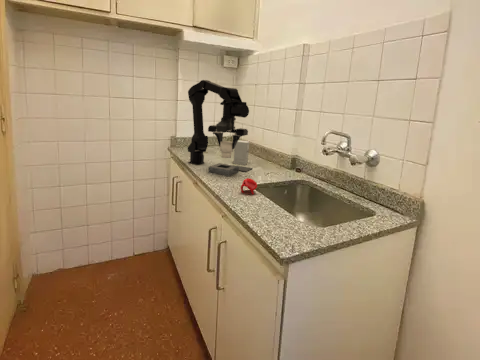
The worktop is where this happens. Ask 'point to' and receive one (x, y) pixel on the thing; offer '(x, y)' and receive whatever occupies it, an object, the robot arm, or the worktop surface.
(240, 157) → the supplement box
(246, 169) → the rubber mat
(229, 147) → the end cover
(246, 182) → the red plastic curved piece
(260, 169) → the worktop surface
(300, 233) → the worktop surface
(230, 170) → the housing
